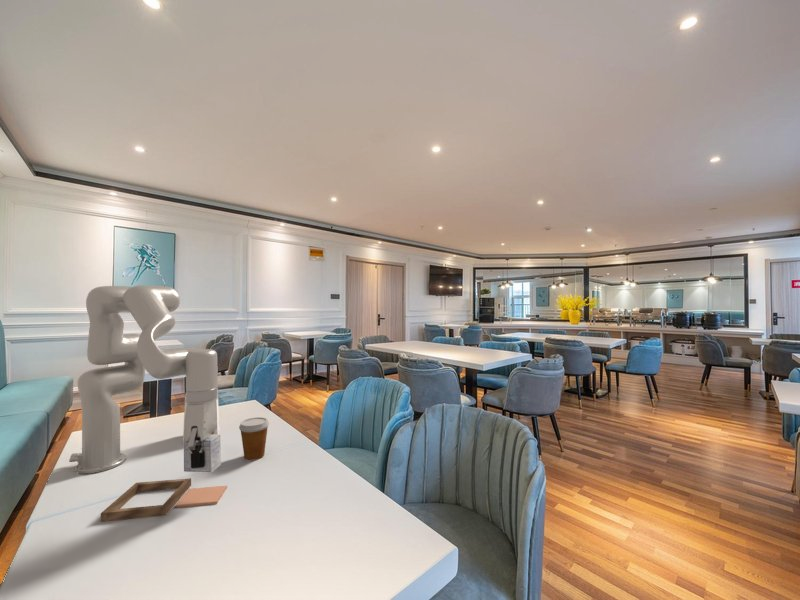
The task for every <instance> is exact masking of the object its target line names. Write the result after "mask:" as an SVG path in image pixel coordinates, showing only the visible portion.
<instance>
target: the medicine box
mask: <svg viewBox="0 0 800 600" xmlns="http://www.w3.org/2000/svg"><path fill="white" fill-rule="evenodd" d="M200 439H201V438H197V439H196V440H200ZM188 443H189V442H187V443H186V442H185V441H184V445H183V472H184V473H185V472H186V473H188V472H189V473H212V472H214V471H216V470H217V469H218V468H219V467H220V466H222V460H221V459H222V455H221V454H222V453H221V449H222V448H221V435H220V434H219V435H215V434H211V435H210V436H209V437H208V438H207V439H205V440H204V448H203V451H205V466H204V467H203V468H191V454H190V449H189V448H188ZM196 445H199V447H200V443H196Z"/></svg>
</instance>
